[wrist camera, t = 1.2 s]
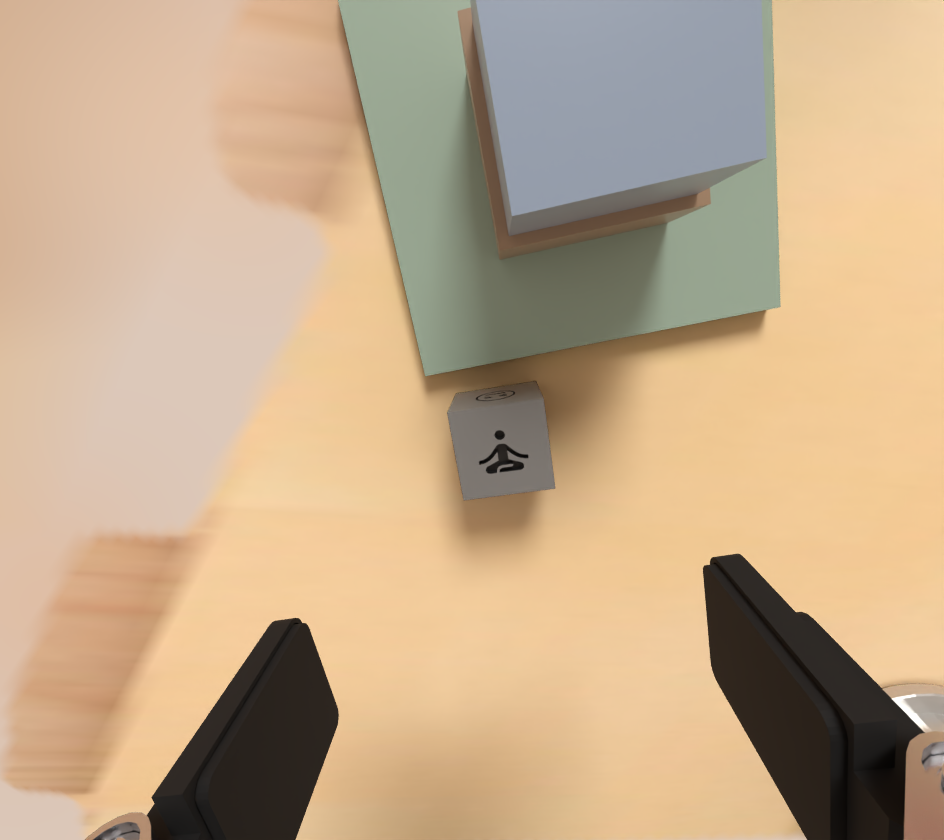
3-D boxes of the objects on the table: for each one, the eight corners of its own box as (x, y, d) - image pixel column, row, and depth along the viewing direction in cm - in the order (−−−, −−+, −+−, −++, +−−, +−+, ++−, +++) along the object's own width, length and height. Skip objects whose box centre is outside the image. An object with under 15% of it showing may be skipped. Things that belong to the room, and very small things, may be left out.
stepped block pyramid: (752, -134, 21) (1032, -611, 10) (767, 306, 25) (964, 312, 15) (340, -11, 23) (196, -291, 12) (428, 372, 28) (383, 421, 17)
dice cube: (469, 467, 29) (463, 500, 24) (456, 393, 28) (447, 412, 23) (545, 456, 29) (555, 488, 24) (535, 380, 28) (543, 398, 23)
